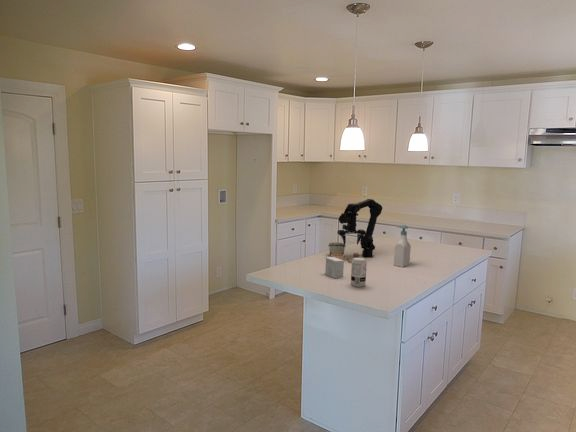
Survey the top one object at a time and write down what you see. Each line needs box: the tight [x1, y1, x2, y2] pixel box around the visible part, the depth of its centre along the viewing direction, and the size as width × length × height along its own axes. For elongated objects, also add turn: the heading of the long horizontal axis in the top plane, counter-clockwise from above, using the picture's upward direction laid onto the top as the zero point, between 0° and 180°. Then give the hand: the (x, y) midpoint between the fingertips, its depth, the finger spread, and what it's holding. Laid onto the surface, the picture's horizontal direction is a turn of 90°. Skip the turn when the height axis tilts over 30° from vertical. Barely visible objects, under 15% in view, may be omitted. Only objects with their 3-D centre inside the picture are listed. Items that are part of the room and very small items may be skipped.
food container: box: [328, 242, 346, 257], centre depth 303 cm, size 12×6×10 cm, turn 84°
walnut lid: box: [346, 252, 360, 264], centre depth 289 cm, size 11×11×5 cm
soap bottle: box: [393, 224, 412, 268], centre depth 283 cm, size 11×8×27 cm
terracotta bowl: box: [331, 254, 345, 261], centre depth 289 cm, size 9×9×4 cm
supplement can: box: [350, 257, 368, 288], centre depth 236 cm, size 8×8×15 cm
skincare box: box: [324, 256, 345, 279], centre depth 254 cm, size 10×6×10 cm, turn 30°
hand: (351, 244), depth 291 cm, fingers open, 9 cm apart
